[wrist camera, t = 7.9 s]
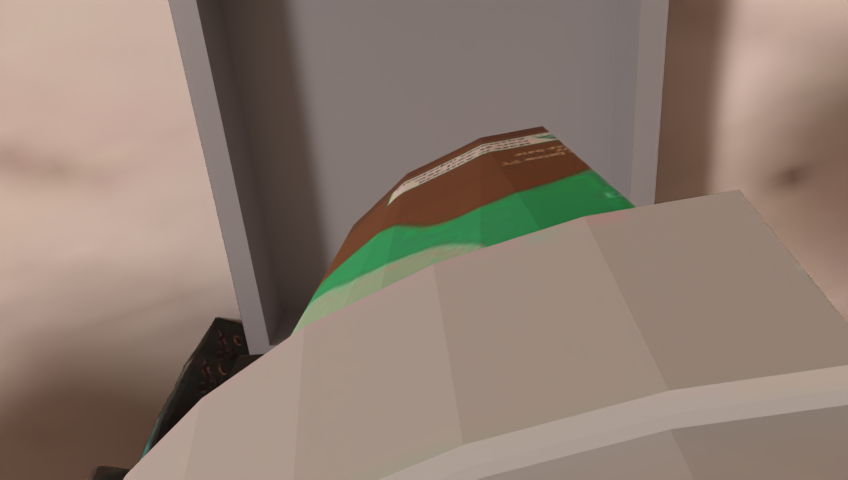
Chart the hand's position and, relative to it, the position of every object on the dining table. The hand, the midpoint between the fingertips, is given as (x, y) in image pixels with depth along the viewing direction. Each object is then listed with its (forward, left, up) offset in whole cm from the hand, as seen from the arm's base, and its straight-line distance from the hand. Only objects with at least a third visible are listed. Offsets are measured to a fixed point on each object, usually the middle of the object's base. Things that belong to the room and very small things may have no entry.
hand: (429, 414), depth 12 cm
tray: (0, 0, -19) cm, 19 cm away
